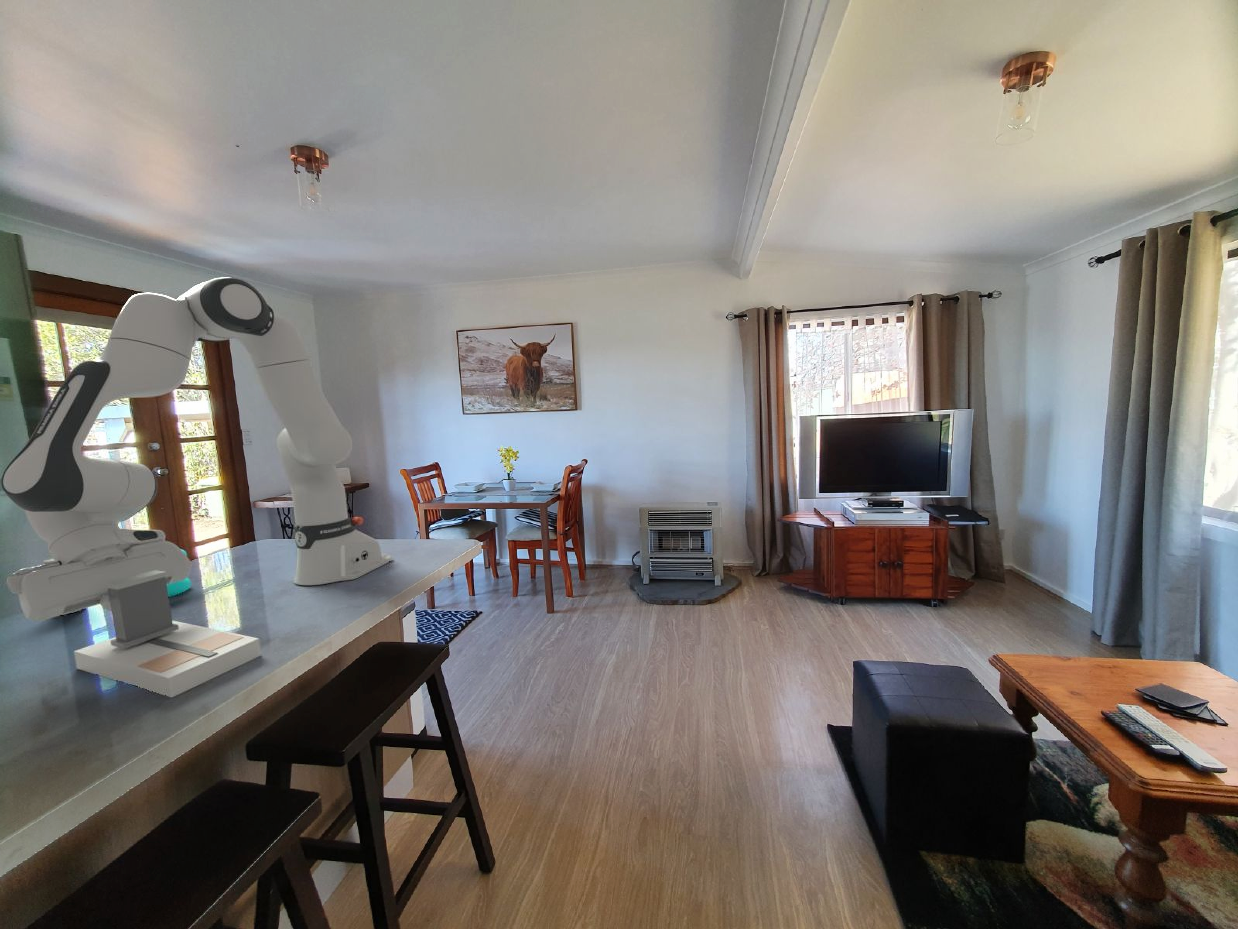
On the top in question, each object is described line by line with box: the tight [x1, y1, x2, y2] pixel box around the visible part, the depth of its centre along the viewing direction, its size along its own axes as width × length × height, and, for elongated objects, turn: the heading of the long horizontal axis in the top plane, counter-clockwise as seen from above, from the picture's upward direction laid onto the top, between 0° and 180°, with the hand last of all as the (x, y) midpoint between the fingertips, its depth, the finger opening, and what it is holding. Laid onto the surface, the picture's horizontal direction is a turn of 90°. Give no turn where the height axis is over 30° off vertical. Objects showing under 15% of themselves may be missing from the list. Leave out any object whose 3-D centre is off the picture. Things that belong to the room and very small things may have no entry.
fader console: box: [73, 619, 262, 699], centre depth 76 cm, size 26×12×3 cm, turn 70°
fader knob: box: [106, 570, 179, 649], centre depth 77 cm, size 4×7×10 cm, turn 160°
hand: (135, 613), depth 78 cm, fingers closed, pressing on fader knob
